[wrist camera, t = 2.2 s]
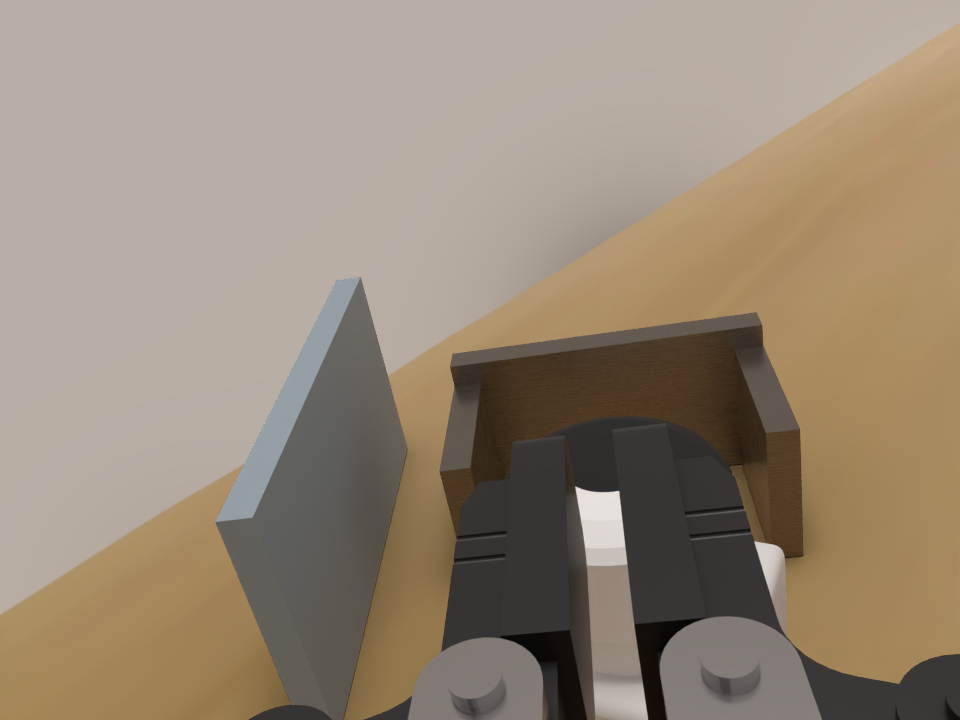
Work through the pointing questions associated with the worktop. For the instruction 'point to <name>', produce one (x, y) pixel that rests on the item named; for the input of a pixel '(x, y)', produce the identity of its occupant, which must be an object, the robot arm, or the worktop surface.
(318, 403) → the door board
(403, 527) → the worktop surface
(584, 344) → the keeper
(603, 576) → the medicine bottle
